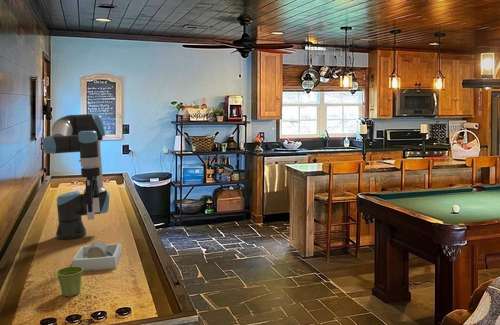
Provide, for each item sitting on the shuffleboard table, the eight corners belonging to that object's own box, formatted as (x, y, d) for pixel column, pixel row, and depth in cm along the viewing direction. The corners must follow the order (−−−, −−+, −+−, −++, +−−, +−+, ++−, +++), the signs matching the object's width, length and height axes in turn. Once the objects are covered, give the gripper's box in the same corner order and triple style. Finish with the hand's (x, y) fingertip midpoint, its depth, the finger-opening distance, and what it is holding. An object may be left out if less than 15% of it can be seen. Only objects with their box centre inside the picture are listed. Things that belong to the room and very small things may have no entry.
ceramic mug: (86, 264, 198) (85, 246, 197) (90, 258, 206) (89, 241, 205) (112, 262, 199) (111, 245, 198) (115, 256, 207) (114, 239, 206)
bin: (82, 257, 211) (81, 246, 211) (121, 253, 214) (120, 243, 213) (72, 272, 191) (71, 260, 191) (115, 268, 194) (115, 257, 193)
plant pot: (88, 288, 173) (86, 265, 172) (80, 298, 164) (78, 274, 163) (63, 289, 173) (61, 266, 172) (53, 299, 164) (51, 275, 163)
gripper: (86, 164, 210) (90, 210, 213) (74, 171, 185) (79, 223, 188) (103, 163, 211) (107, 208, 214) (94, 170, 187) (98, 221, 189)
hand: (93, 215), depth 201 cm, fingers open, 13 cm apart
